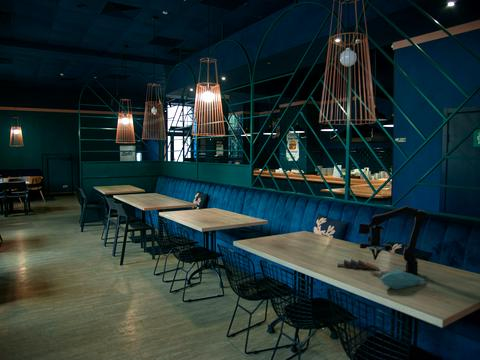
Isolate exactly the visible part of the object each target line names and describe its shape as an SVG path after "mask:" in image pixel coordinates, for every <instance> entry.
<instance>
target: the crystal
mask: <svg viewBox="0 0 480 360" xmlns="http://www.w3.org/2000/svg"><path fill="white" fill-rule="evenodd" d="M380 281H381V282H382V283H383V285H384V286H386V287H389V288H391V289H393V290H400V289H405V288H409V287H410V288H411V287H414V286H416V285H418V284H421V283H423V282H425V281H426V279H424V278H422V277H420V276H419V275H413V274H410V273H406V272H404V271H401V270H397V269H393V270H391V271H389V272H387V273H384V274H382V276H381V278H380Z"/></svg>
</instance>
